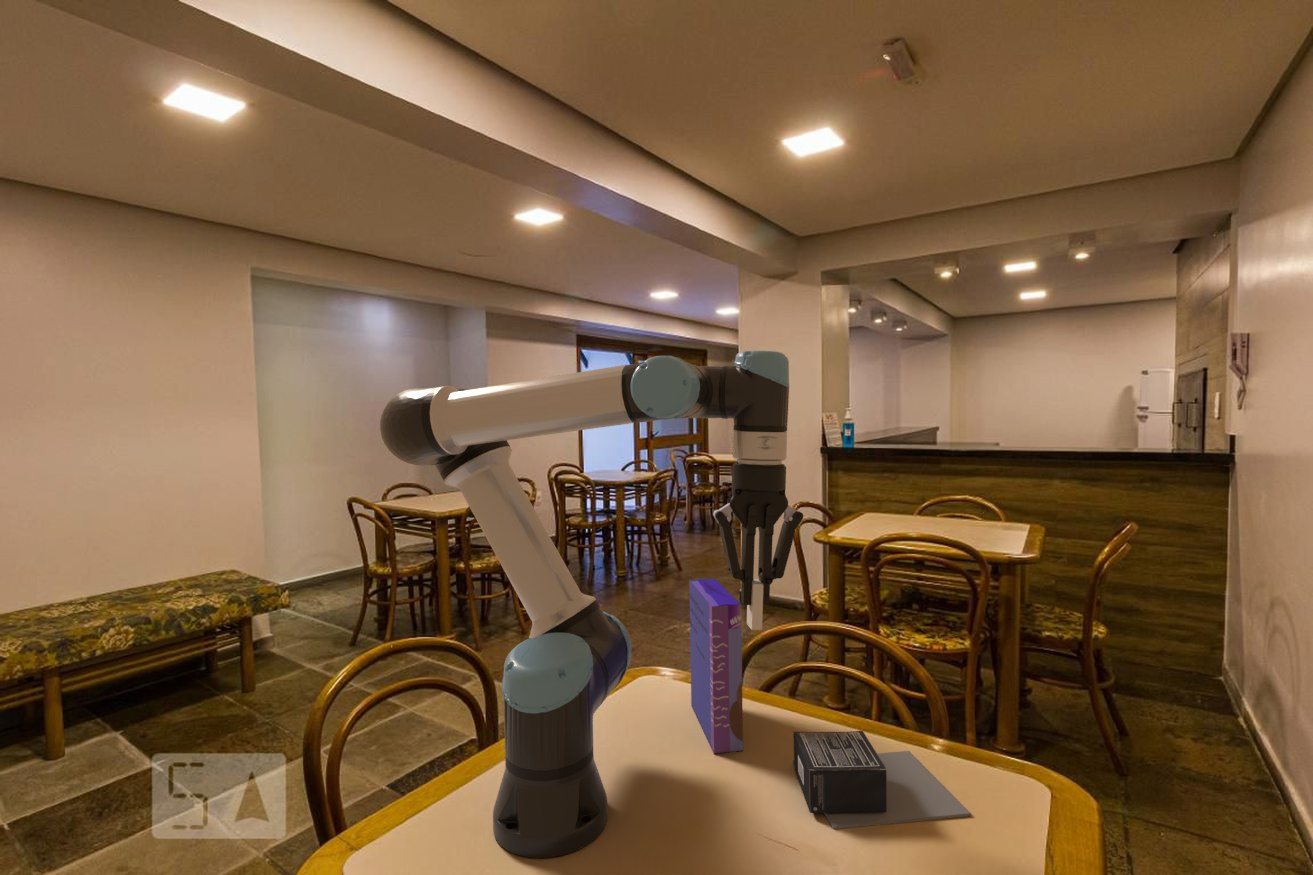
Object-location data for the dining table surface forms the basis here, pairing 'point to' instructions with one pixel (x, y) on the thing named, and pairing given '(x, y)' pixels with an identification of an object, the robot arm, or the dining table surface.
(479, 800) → the dining table surface
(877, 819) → the mat
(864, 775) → the small box
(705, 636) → the cereal box
